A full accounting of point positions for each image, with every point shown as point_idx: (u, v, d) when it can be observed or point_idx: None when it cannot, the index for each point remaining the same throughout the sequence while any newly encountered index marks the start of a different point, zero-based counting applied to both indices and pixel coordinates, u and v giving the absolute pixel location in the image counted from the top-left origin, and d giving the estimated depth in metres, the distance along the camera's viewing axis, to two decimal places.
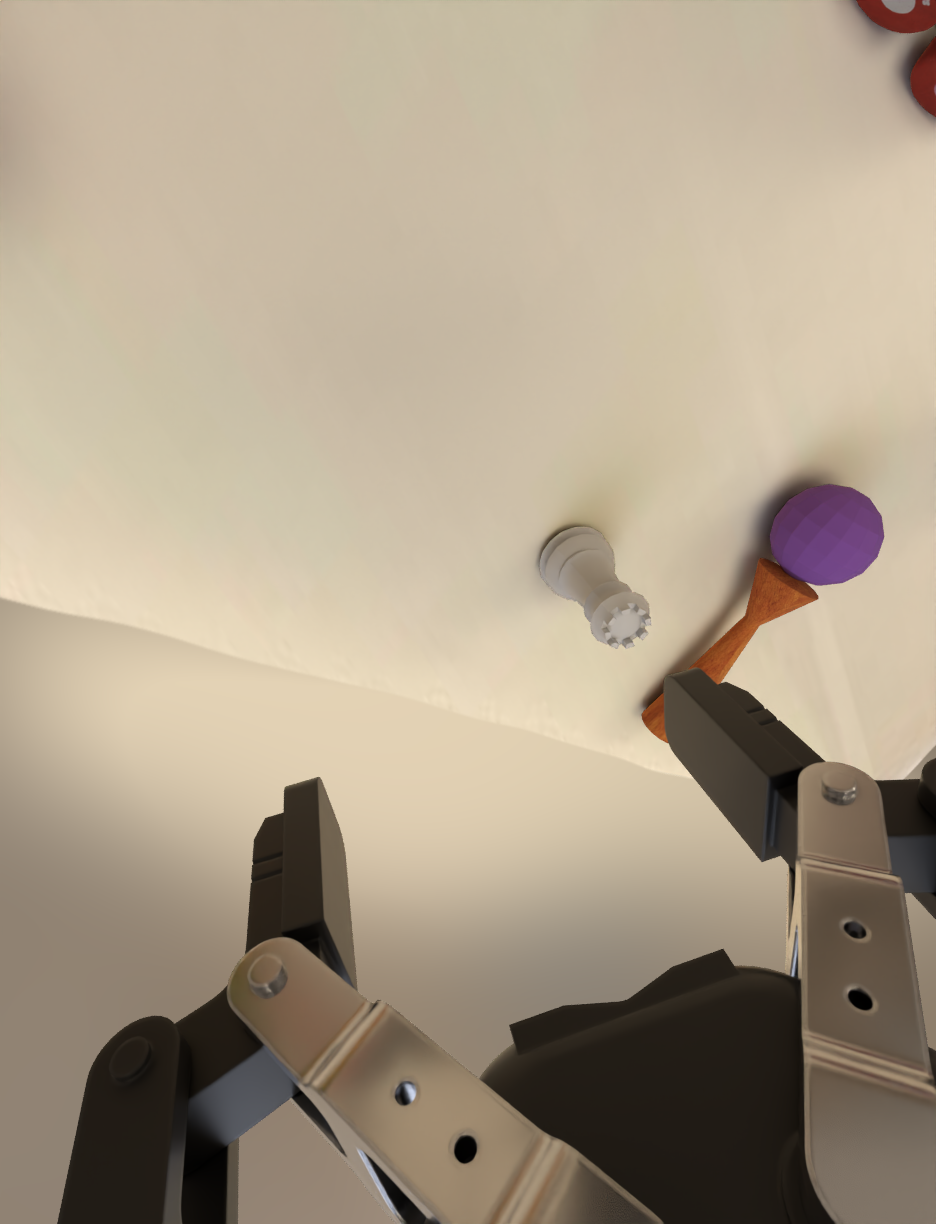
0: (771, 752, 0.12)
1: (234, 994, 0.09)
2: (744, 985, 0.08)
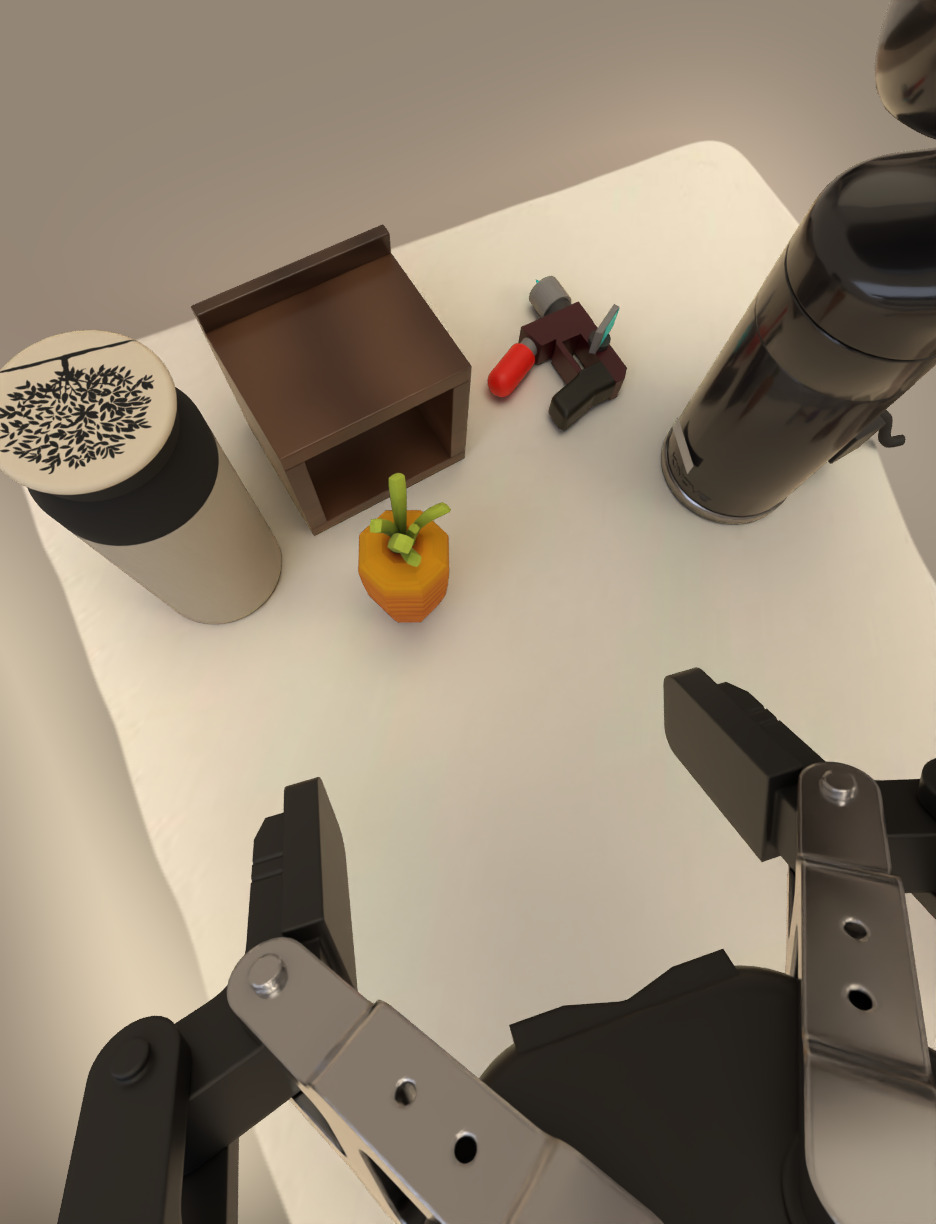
0: (771, 752, 0.12)
1: (234, 994, 0.09)
2: (744, 985, 0.08)
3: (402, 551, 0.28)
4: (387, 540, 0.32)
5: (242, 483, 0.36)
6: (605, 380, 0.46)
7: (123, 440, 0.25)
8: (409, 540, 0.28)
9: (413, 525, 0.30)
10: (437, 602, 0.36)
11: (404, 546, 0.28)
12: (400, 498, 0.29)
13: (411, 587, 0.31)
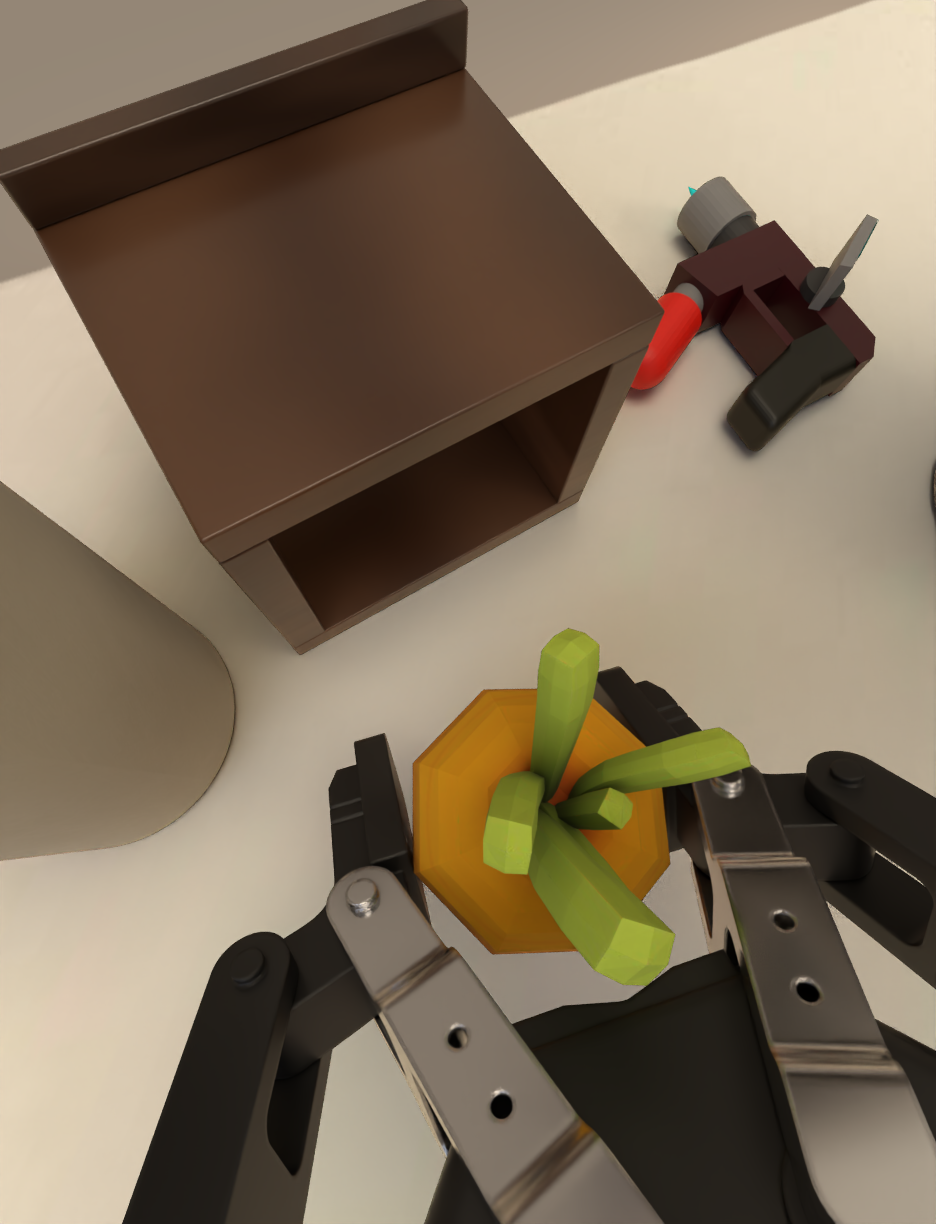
0: None
1: (332, 905, 0.10)
2: (744, 985, 0.08)
3: (627, 980, 0.07)
4: None
5: (118, 591, 0.15)
6: (839, 359, 0.25)
7: None
8: (662, 945, 0.07)
9: (616, 801, 0.09)
10: None
11: (640, 968, 0.07)
12: (576, 715, 0.09)
13: None
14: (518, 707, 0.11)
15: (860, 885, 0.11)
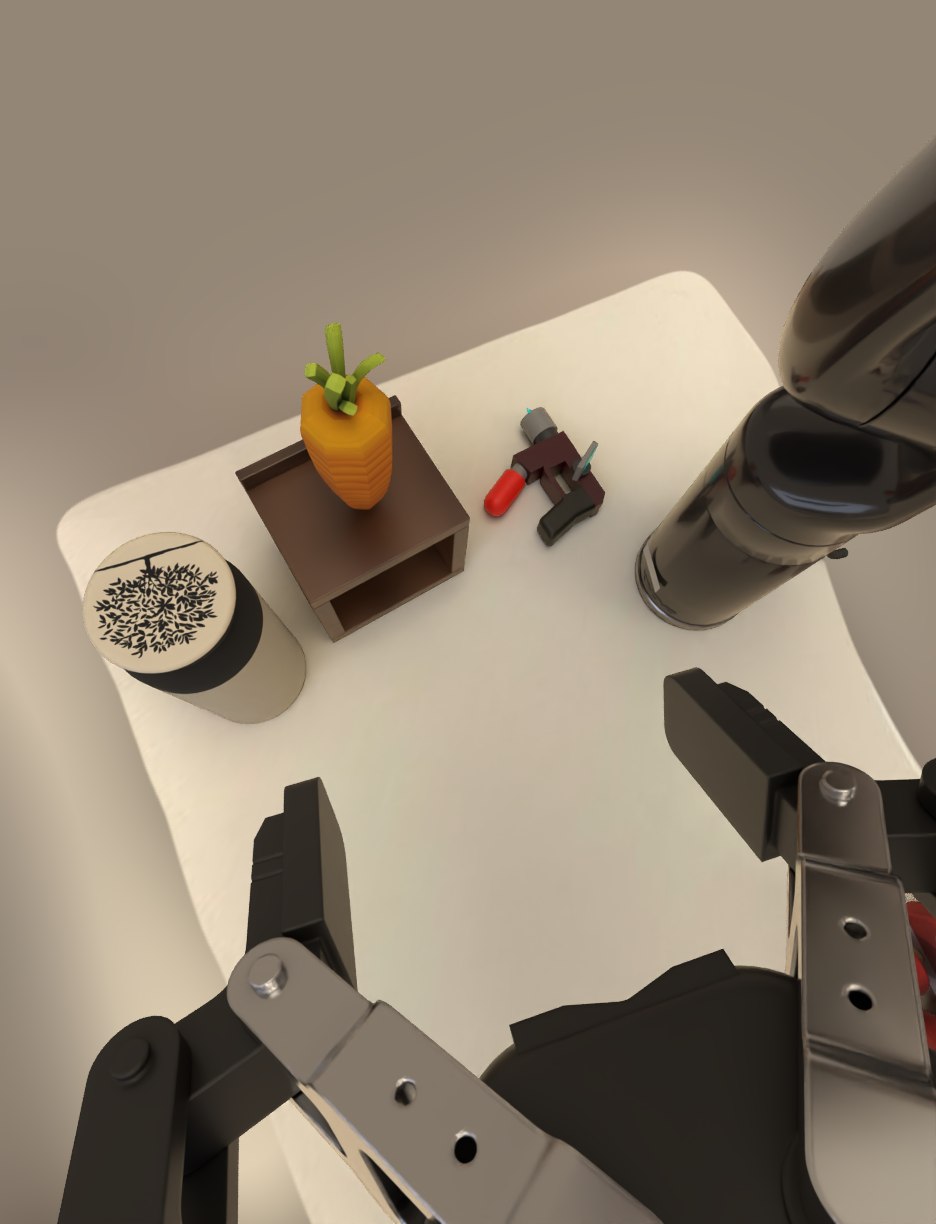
0: (771, 752, 0.12)
1: (234, 994, 0.09)
2: (744, 985, 0.08)
3: (335, 391, 0.29)
4: None
5: (277, 618, 0.42)
6: (586, 504, 0.52)
7: (195, 628, 0.32)
8: (341, 379, 0.28)
9: (349, 376, 0.30)
10: (383, 478, 0.37)
11: (336, 385, 0.28)
12: (336, 348, 0.30)
13: (351, 444, 0.32)
14: None
15: None
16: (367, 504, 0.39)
